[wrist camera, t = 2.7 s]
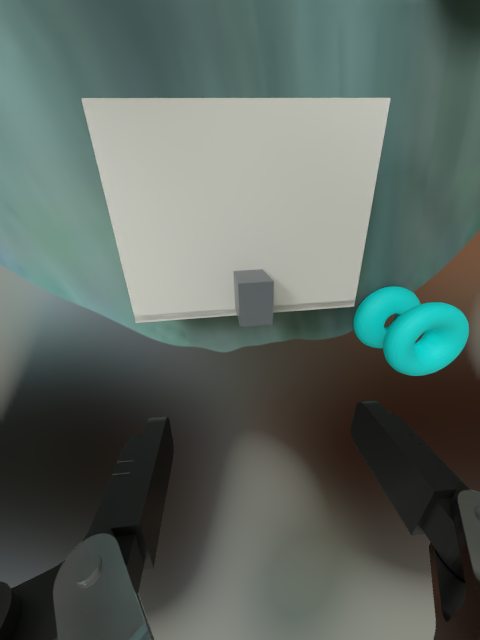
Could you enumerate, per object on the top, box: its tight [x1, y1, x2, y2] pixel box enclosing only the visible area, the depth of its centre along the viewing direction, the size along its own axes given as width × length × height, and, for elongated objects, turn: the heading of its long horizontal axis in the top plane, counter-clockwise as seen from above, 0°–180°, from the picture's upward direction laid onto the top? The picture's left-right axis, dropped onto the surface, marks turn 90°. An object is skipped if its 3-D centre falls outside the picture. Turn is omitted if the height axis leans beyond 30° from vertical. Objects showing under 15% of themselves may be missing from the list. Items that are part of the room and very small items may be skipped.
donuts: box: [353, 286, 469, 376], centre depth 32 cm, size 10×10×10 cm
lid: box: [81, 98, 390, 327], centre depth 21 cm, size 18×24×8 cm
